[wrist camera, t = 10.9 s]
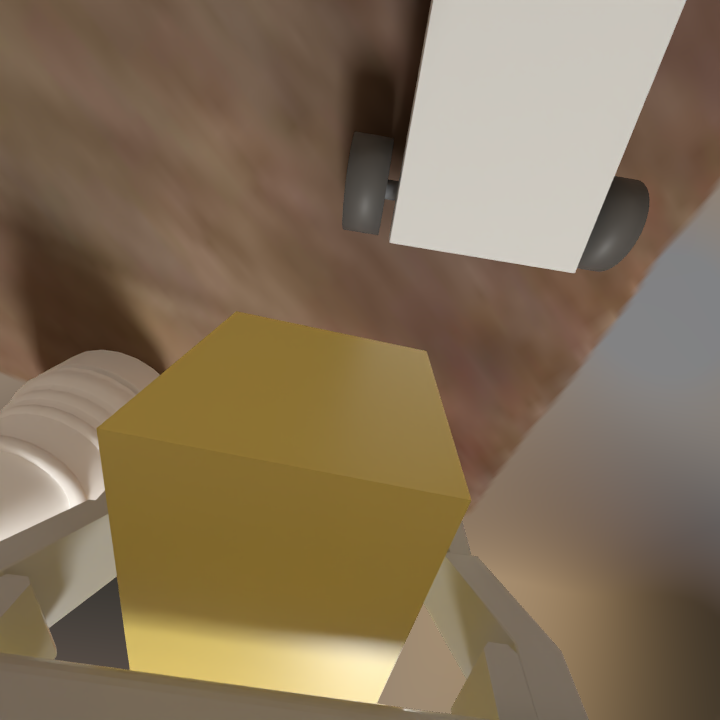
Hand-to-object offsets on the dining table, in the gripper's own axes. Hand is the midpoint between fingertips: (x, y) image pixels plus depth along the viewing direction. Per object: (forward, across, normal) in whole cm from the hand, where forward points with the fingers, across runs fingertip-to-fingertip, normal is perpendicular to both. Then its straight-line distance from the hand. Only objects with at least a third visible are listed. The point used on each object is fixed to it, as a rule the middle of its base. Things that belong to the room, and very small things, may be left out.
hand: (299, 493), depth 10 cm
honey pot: (+23, -22, -16) cm, 36 cm away
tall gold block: (+2, 0, 0) cm, 2 cm away
